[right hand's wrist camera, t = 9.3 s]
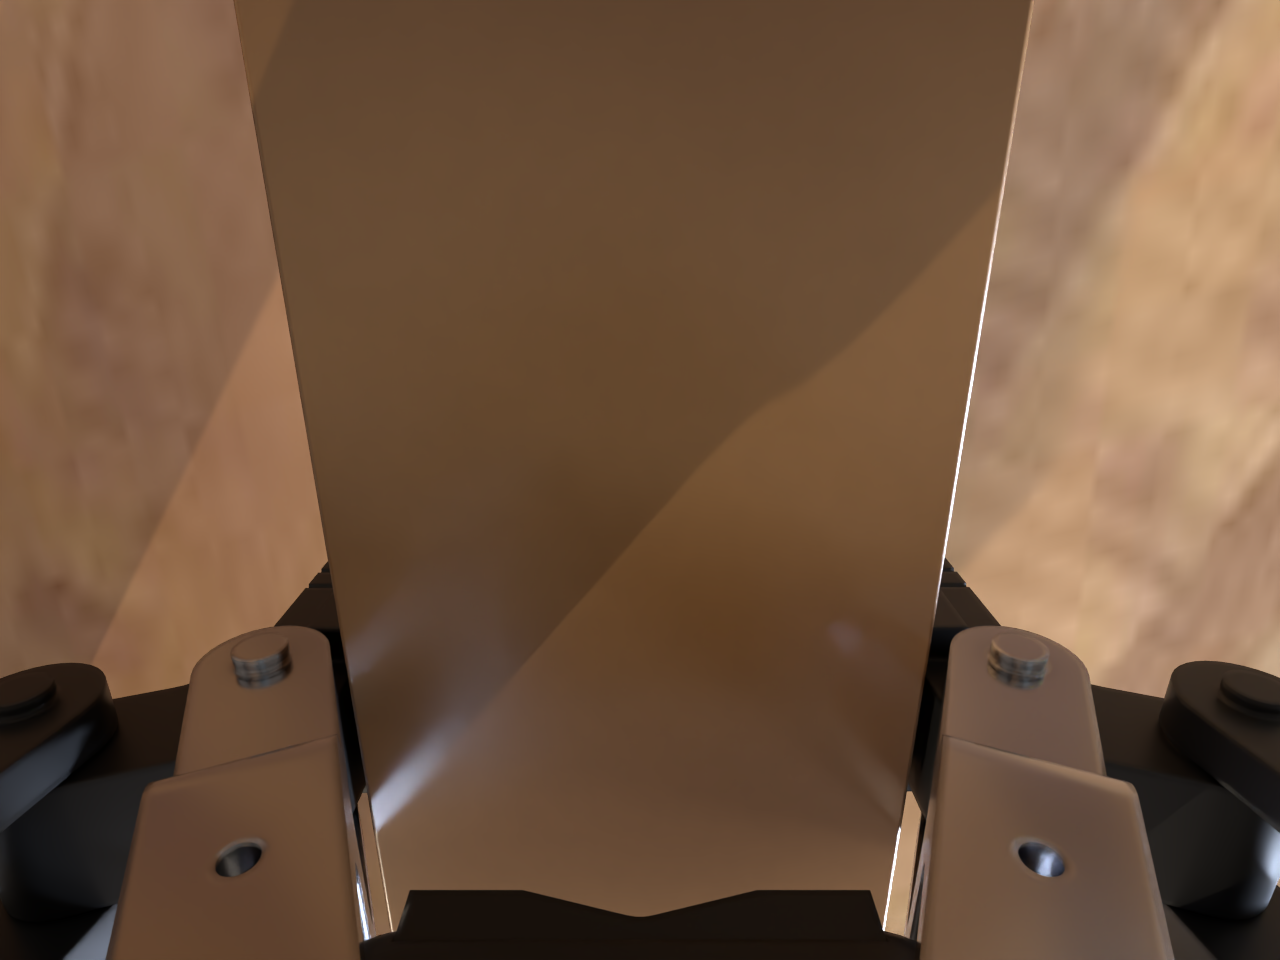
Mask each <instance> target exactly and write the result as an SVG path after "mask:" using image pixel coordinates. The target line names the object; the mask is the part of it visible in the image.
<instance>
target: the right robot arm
mask: <svg viewBox="0 0 1280 960" xmlns="http://www.w3.org/2000/svg"><path fill="white" fill-rule="evenodd" d="M907 791H912V792H913V794H914V797H915V799H916V801H917V803H918V806H919V808H920V810H921V815H920V821H919V826H918V832H917V840H916V848H915V855H914V863H913V870H912V878H911V886H910V893H909V901H908V908H907V916H906V924H905V931H904V936H901V935H897V934H893V933H890V932H886V931H883V928H882V925H881V922H880V919H879V915H878V912H877V909H876V906H875V903H874V900H873V897H872V894H871V891H870V890H755V891H751V892H747V893H743V894H739V895H734V896H730V897H726V898H722V899H718V900H714V901H710V902H706V903H701V904H697V905H693V906H689V907H685V908H681V909H677V910H673V911H668V912H664V913H660V914H656V915H651V916H645V917H635V916H629V915H624V914H620V913H616V912H612V911H607V910H603V909H599V908H595V907H591V906H587V905H583V904H579V903H574V902H570V901H566V900H562V899H558V898H554V897H550V896H546V895H541V894H537V893H533V892H529V891H525V890H410V891H409V894H408V897H407V900H406V903H405V906H404V909H403V912H402V915H401V919H400V922H399V925H398V928H397V931H394V932H390V933H387V934H383V935H379V936H376V931H375V923H374V916H373V908H372V901H371V893H370V885H369V878H368V870H367V863H366V855H365V847H364V840H363V832H362V826H361V820H360V815H359V809H358V801H359V799H360V797H361V794H362V793H367V788H366V782H365V776H364V770H363V764H362V758H361V752H360V746H359V740H358V734H357V728H356V723H355V717H354V711H353V705H352V699H351V693H350V687H349V681H348V675H347V669H346V663H345V657H344V651H343V646H342V640H341V634H340V628H339V622H338V616H337V610H336V604H335V598H334V592H333V586H332V580H331V574H330V568H329V563H328V562H327V563H326V564H325V565H324V567H323V568H322V572H321V573H318V574H317V575H316V576H315V577H314V579H313V580H312V581H311V582H310V583H309V588H305V590H304V591H303V592H302V593H301V594H300V596H299V597H298V598H297V599H296V600H295V602H294V603H293V604H292V605H291V606H290V608H289V609H288V610H287V611H286V612H285V614H284V615H283V616H282V617H281V619H280V620H279V621H278V622H277V623H276V625H275V626H274V627H269V628H263V629H259V630H255V631H251V632H248V633H245V634H242V635H239V636H237V637H234V638H232V639H230V640H228V641H226V642H224V643H222V644H220V645H218V646H217V647H215V648H213V649H212V650H210V651H209V652H208V653H207V654H205V655H204V656H203V657H202V658H201V659H200V660H199V661H198V662H197V664H196V665H195V667H194V668H193V671H192V674H191V678H190V684H187V685H184V686H179V687H175V688H170V689H165V690H159V691H154V692H149V693H143V694H138V695H133V696H127V697H122V698H117V699H112V696H111V693H110V690H109V687H108V683H107V680H106V677H105V675H104V673H103V672H102V671H101V670H100V669H99V668H97V667H94V666H92V665H88V664H82V663H59V664H52V665H45V666H41V667H36V668H32V669H28V670H24V671H21V672H18V673H15V674H12V675H9V676H6V677H3V678H1V679H0V960H1280V887H1279V886H1277V882H1278V880H1279V877H1280V678H1278V677H1276V676H1274V675H1271V674H1268V673H1265V672H1262V671H1259V670H1256V669H1253V668H1249V667H1245V666H1241V665H1236V664H1232V663H1225V662H1218V661H1194V662H1189V663H1185V664H1183V665H1180V666H1178V667H1177V668H1176V669H1175V670H1174V671H1173V673H1172V675H1171V678H1170V681H1169V685H1168V688H1167V691H1166V695H1165V698H1159V697H1154V696H1148V695H1143V694H1138V693H1132V692H1127V691H1122V690H1116V689H1111V688H1106V687H1101V686H1096V685H1092V684H1091V683H1090V678H1089V674H1088V671H1087V668H1086V667H1085V665H1084V664H1083V662H1082V661H1081V660H1080V659H1079V658H1078V657H1077V656H1076V655H1075V654H1073V653H1072V652H1071V651H1070V650H1068V649H1067V648H1065V647H1063V646H1062V645H1060V644H1058V643H1056V642H1054V641H1052V640H1050V639H1048V638H1046V637H1043V636H1041V635H1038V634H1035V633H1032V632H1029V631H1025V630H1021V629H1017V628H1011V627H1004V626H1001V625H1000V624H999V623H998V622H997V620H996V619H995V618H994V617H993V616H992V614H991V613H990V612H989V611H988V609H987V608H986V607H985V606H984V605H983V603H982V602H981V601H980V600H979V598H978V597H977V596H976V595H975V594H974V592H973V591H972V590H971V589H970V587H966V583H965V581H964V580H963V579H962V578H961V576H960V575H959V574H958V573H957V572H954V568H953V567H952V565H951V564H950V563H949V562H948V561H947V559H946V558H944V564H943V570H942V576H941V582H940V589H939V595H938V601H937V607H936V613H935V620H934V626H933V632H932V638H931V644H930V650H929V657H928V663H927V669H926V675H925V681H924V688H923V694H922V700H921V706H920V712H919V719H918V725H917V731H916V737H915V743H914V749H913V756H912V762H911V768H910V774H909V780H908V787H907Z"/></svg>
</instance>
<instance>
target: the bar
mask: <svg viewBox="0 0 1280 960" xmlns="http://www.w3.org/2000/svg"><path fill="white" fill-rule="evenodd" d="M1034 1H1035V0H234V5H235V11H236V17H237V23H238V29H239V35H240V41H241V47H242V53H243V59H244V65H245V71H246V76H247V82H248V88H249V94H250V100H251V106H252V112H253V118H254V124H255V130H256V136H257V142H258V148H259V154H260V159H261V165H262V171H263V177H264V183H265V189H266V195H267V201H268V207H269V213H270V219H271V225H272V231H273V237H274V242H275V248H276V254H277V260H278V266H279V272H280V278H281V284H282V290H283V296H284V302H285V308H286V314H287V320H288V325H289V331H290V337H291V343H292V349H293V355H294V361H295V367H296V373H297V379H298V385H299V391H300V397H301V402H302V408H303V414H304V420H305V426H306V432H307V438H308V444H309V450H310V456H311V462H312V468H313V474H314V480H315V485H316V491H317V497H318V503H319V509H320V515H321V521H322V527H323V533H324V539H325V545H326V551H327V557H328V563H329V568H330V574H331V580H332V586H333V592H334V598H335V604H336V610H337V616H338V622H339V628H340V634H341V640H342V646H343V651H344V657H345V663H346V669H347V675H348V681H349V687H350V693H351V699H352V705H353V711H354V717H355V723H356V728H357V734H358V740H359V746H360V752H361V758H362V764H363V770H364V776H365V782H366V788H367V794H368V800H369V806H370V811H371V817H372V823H373V829H374V835H375V841H376V847H377V853H378V859H379V865H380V871H381V877H382V883H383V889H384V894H385V900H386V906H387V912H388V918H389V924H390V930H391V932H394V931H397V928H398V925H399V922H400V919H401V915H402V912H403V909H404V906H405V903H406V900H407V897H408V894H409V891H410V890H525V891H529V892H533V893H537V894H541V895H546V896H550V897H554V898H558V899H562V900H566V901H570V902H574V903H579V904H583V905H587V906H591V907H595V908H599V909H603V910H607V911H612V912H616V913H620V914H624V915H629V916H635V917H645V916H651V915H656V914H660V913H664V912H668V911H673V910H677V909H681V908H685V907H689V906H693V905H697V904H701V903H706V902H710V901H714V900H718V899H722V898H726V897H730V896H734V895H739V894H743V893H747V892H751V891H755V890H870V891H871V894H872V897H873V900H874V903H875V906H876V909H877V912H878V915H879V919H880V922H881V925H882V928H883V931H884V929H885V923H886V916H887V910H888V904H889V898H890V892H891V886H892V879H893V873H894V867H895V861H896V855H897V848H898V842H899V836H900V830H901V824H902V818H903V811H904V805H905V799H906V793H907V787H908V780H909V774H910V768H911V762H912V756H913V749H914V743H915V737H916V731H917V725H918V719H919V712H920V706H921V700H922V694H923V688H924V681H925V675H926V669H927V663H928V657H929V650H930V644H931V638H932V632H933V626H934V620H935V613H936V607H937V601H938V595H939V589H940V582H941V576H942V570H943V564H944V558H945V551H946V545H947V539H948V533H949V527H950V521H951V514H952V508H953V502H954V496H955V490H956V483H957V477H958V471H959V465H960V459H961V452H962V446H963V440H964V434H965V428H966V422H967V415H968V409H969V403H970V397H971V391H972V384H973V378H974V372H975V366H976V360H977V353H978V347H979V341H980V335H981V329H982V323H983V316H984V310H985V304H986V298H987V292H988V285H989V279H990V273H991V267H992V261H993V255H994V248H995V242H996V236H997V230H998V224H999V217H1000V211H1001V205H1002V199H1003V193H1004V186H1005V180H1006V174H1007V168H1008V162H1009V156H1010V149H1011V143H1012V137H1013V131H1014V125H1015V118H1016V112H1017V106H1018V100H1019V94H1020V87H1021V81H1022V75H1023V69H1024V63H1025V57H1026V50H1027V44H1028V38H1029V32H1030V26H1031V19H1032V13H1033V7H1034Z"/></svg>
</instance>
